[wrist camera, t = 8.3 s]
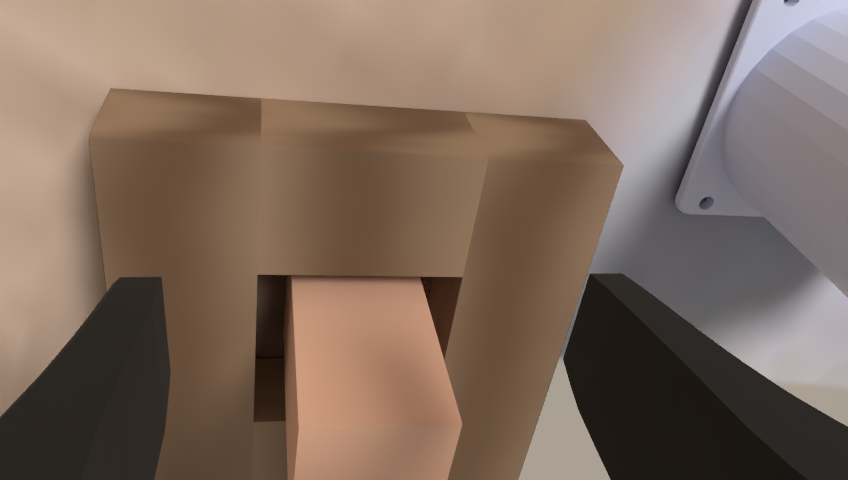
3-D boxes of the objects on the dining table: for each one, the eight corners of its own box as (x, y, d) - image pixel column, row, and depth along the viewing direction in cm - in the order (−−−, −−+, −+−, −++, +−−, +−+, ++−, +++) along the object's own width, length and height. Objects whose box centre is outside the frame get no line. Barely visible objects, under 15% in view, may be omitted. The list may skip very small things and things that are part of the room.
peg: (410, 242, 24) (462, 424, 18) (394, 332, 26) (435, 523, 20) (289, 238, 23) (299, 428, 17) (283, 331, 26) (288, 532, 19)
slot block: (585, 120, 23) (623, 165, 20) (496, 425, 30) (516, 484, 28) (110, 88, 20) (88, 137, 17) (143, 438, 27) (131, 506, 25)
